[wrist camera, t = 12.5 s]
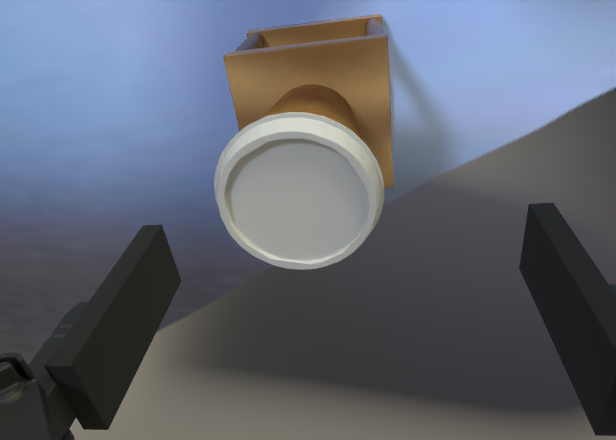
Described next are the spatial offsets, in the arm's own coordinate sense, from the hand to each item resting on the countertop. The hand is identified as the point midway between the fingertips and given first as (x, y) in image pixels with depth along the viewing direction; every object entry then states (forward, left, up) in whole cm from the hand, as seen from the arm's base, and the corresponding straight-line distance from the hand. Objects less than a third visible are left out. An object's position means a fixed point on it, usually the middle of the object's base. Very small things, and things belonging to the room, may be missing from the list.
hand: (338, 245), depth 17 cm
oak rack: (+1, -4, -29) cm, 29 cm away
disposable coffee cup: (+1, -4, -20) cm, 20 cm away
